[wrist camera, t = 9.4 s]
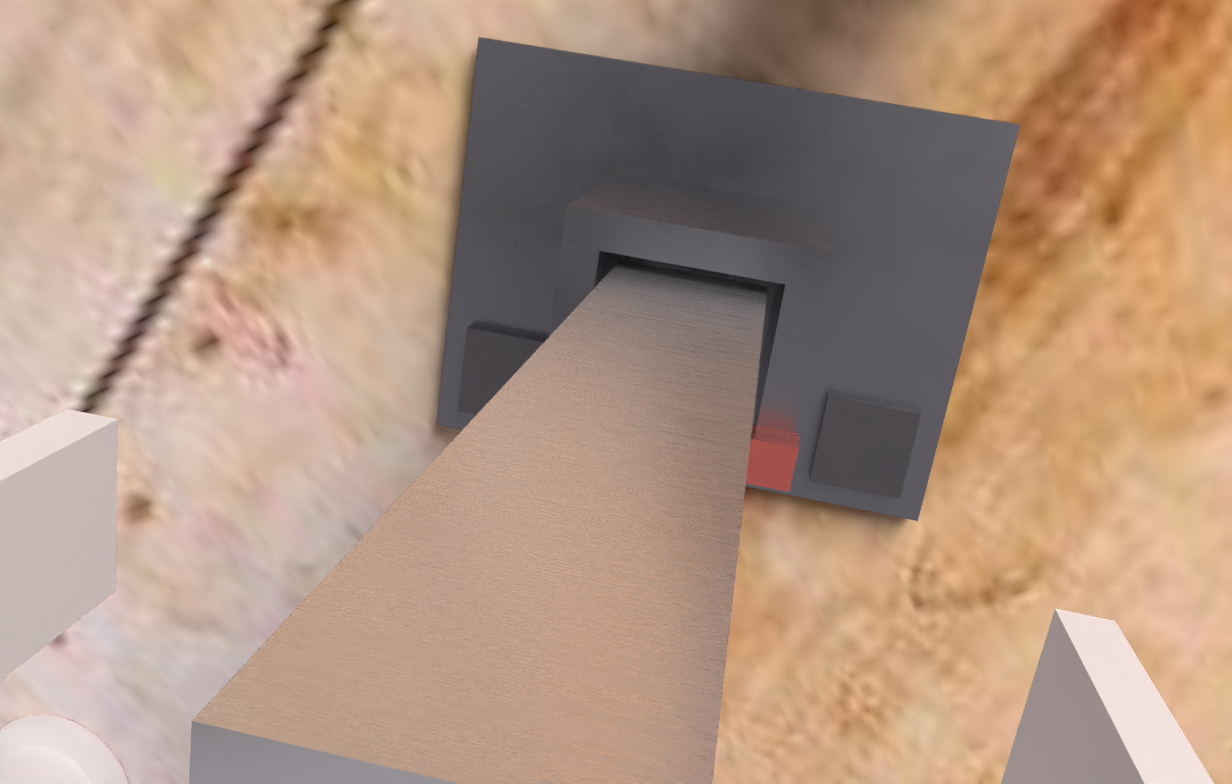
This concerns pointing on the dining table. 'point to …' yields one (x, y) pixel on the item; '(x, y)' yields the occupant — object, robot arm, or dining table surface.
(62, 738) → the candle
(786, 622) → the dining table surface
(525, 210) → the housing
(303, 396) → the dining table surface
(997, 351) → the dining table surface
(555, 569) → the column
